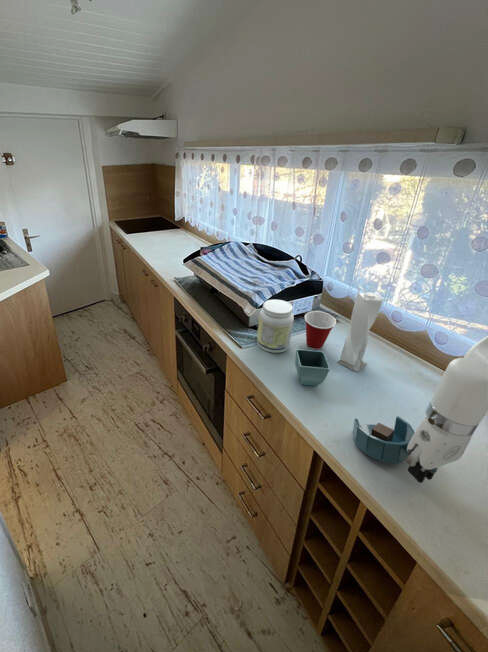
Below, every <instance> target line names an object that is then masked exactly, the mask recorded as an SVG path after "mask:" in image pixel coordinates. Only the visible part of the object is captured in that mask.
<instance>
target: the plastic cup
mask: <svg viewBox="0 0 488 652" xmlns="http://www.w3.org/2000/svg"><path fill="white" fill-rule="evenodd" d="M304 320H305V343H306V346H307V347H309V348H310V349H313V350H320V349H322V348H323V347H324V344H325V342H326V341H327V339H328V337H329V335H330V333H331V331H332V329H333V328H334V327H335V326H336V325H337V319H336V317H334V316H333V315H332V314H330V313H327V312H325V311H321V310H312V311H308V312H306V313H305V314H304Z"/></svg>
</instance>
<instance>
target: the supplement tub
mask: <svg viewBox="0 0 488 652" xmlns="http://www.w3.org/2000/svg"><path fill="white" fill-rule="evenodd" d="M293 310H294V307H293V305H292V304H291V303H290V302H288V301H286V300H282V299H268V300H266V301H264V302H263V304H262V309H261V310H260V311H259V315H258V325H257V332H256V333H257V335H256V343H257V345H258V346H259V348H261V350H263V351H266V352H269V353H272V354H273V353H274V354H278V353H279V354H280V353H283V352H285V351H286V350H288V349H289V346H290V343H291V336H292V331H293V326H294V320H295V317H294V311H293Z"/></svg>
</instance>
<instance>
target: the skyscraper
mask: <svg viewBox="0 0 488 652" xmlns="http://www.w3.org/2000/svg"><path fill="white" fill-rule="evenodd" d="M360 291H362V292H360ZM383 303H384V298H383V297H382V296H381V295H380V293H379V292H377V291H375V292H369V291H367V292H365V289H364V288H363V287H362V286H361V285H359V286H358V287H357V294H356V297H355V300H354V304H353V309H352V312H351V318H350V324H349V325H350V326H349V327H350V328H349V331H348V333H347V336H346V338H345V340H344V344H343V347H342V350H341V354H340V357H339V359H338V360H337V361H336V364H338V365H340V366H342V367H345V368H346V369H348V370H350V371H352V372H355V373H359V372H360V371H361V370H362V369H363V368H364V367H365V366H366V365H367V362H365V361H363V359H364V357H365V353H366V349H367V346H368V342H369V336H370V335H369V333H370V329H372V326H373V325H374V323H375V322H376V320H377V318H378V315H379V313H380V310H381V308H382V305H383Z"/></svg>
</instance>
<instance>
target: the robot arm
mask: <svg viewBox="0 0 488 652" xmlns="http://www.w3.org/2000/svg"><path fill="white" fill-rule="evenodd" d="M424 411H425V412H424V415H425V417H424V418H423V419H422V421H421V422H420V424H419V425H418V427H417V428H416V430H414V432H415V433H414V434H413V436H412V438H411V440H410V442H409V444H408V447H407V452H408V453H411V452H412V453H411V454H410V455H409V456H408V457H407V458H406V460H405V463H406V464H407V465H408V468H407V471H408V473H409V474H410V475H411V476H412V477H413V478H414V479H415V480H416V481H417V482H418V483H419V484H422V483H424V481H425V479H427V480H428V481H430V480H432V479H433V477H434V475H435V474H436V473H431V472H429V471H428V470H427V469H434V468H437V470H438V468H440V467H443V466H446V465H448V464H451V463H454V462H456V461H458V460H460V459H461V458H462V457H463V455H464V453H465V452H466V450H467V448H468V447H469V444H470V442H471V440H472V437H473V434H474V433H475V432H476V430H477V428H478V426H479V424H480V423H481V422H482V420H483V419H484V417H485V415H486V414H487V413H488V335H486V336H484V337H483V338H481V340H478V341H477V343H475V344H474V345H472V346H471V347H470V348H469V349H468V350H467V351H466V352H465V354H464V356H463V357H457V358H454V359H452V360H451V361H450V362H449V363H448V365H447V367H446V369H445V370H444V373H443V375H442V377H441V378H440V381H439V383H438V384H437V387H436V389H435V391H434V393H433V395H432V397H431V399H430V401H429V403H428V405H427V407H426V409H425V410H424Z"/></svg>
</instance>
